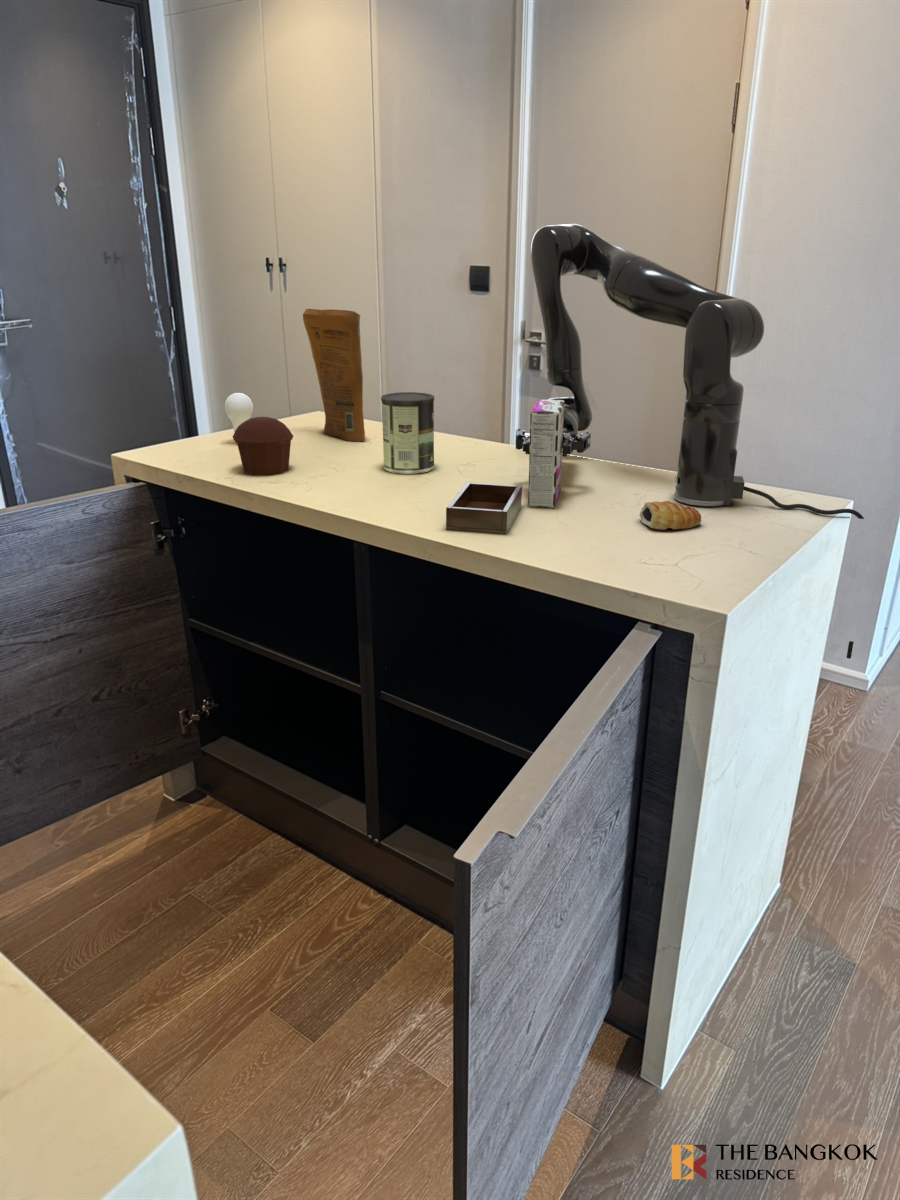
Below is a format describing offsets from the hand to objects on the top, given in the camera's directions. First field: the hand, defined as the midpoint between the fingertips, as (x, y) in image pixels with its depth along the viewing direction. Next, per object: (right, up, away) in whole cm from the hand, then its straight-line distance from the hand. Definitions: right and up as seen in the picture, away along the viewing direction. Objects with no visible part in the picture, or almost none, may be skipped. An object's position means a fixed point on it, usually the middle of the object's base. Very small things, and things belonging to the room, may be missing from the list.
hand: (546, 449), depth 148 cm
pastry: (+18, -14, -10) cm, 25 cm away
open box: (-11, -12, -7) cm, 18 cm away
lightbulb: (-63, +9, +44) cm, 77 cm away
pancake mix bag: (-42, +12, +51) cm, 67 cm away
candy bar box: (0, -8, +3) cm, 9 cm away
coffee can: (-25, 0, +24) cm, 34 cm away
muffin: (-53, 0, +22) cm, 57 cm away
